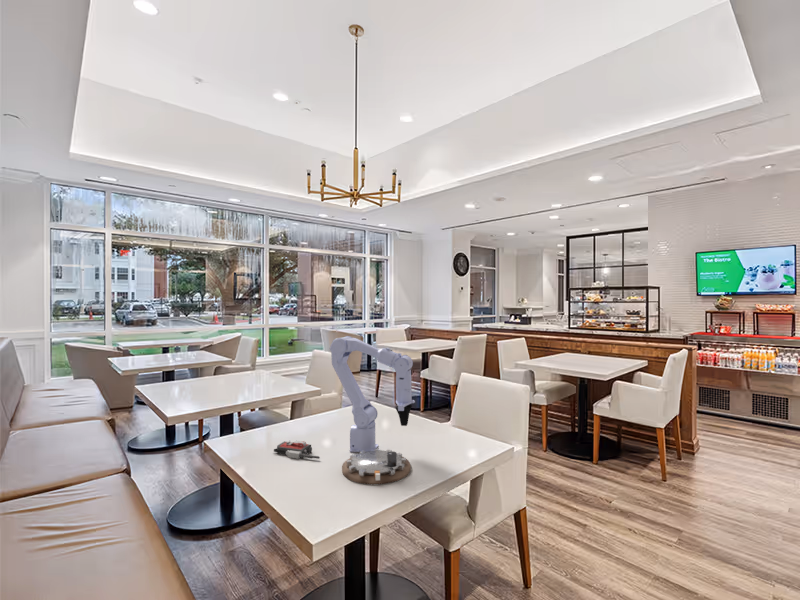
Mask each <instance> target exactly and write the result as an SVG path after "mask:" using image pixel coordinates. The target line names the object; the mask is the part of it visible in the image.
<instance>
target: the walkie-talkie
mask: <svg viewBox="0 0 800 600" xmlns="http://www.w3.org/2000/svg"><path fill="white" fill-rule="evenodd" d="M312 451H313V447H312V444H307V442H306V441H305V440H304V441H302V440H295V441H291V440H289V441H282V442H281V443H279V444H278V445H276V448H274V449H273V452H274V453H276V454H277V453H280V454H279V455H284V454H286V456H287V457H288V458H289V457H290V459H296V460H299V459H301V458H302V459H303V458H305V459H317V460H320V456H319V455H311V453H312ZM310 452H311V453H310ZM307 453H308V454H307ZM300 457H301V458H300Z"/></svg>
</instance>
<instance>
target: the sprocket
mask: <svg viewBox="0 0 800 600" xmlns="http://www.w3.org/2000/svg"><path fill="white" fill-rule="evenodd" d="M402 457H403V454H402V453H401V452H397V451H392V449H386V450H379V448H376V449H374V451H367V452H366V451H364V450H363V451H360V452H359V453H357V454H351V455H349V458H350V460H348V459H346V460H347V466H349V471H350V472H351V473H352V472H355V471H356V472H358V473H359V476H362V477H364V476H365V475H375V473H380V475H385V474H389V475H395V471H397V470H404V464H406V459H407V458H406V457H404V458H402Z"/></svg>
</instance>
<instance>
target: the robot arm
mask: <svg viewBox="0 0 800 600" xmlns="http://www.w3.org/2000/svg"><path fill="white" fill-rule="evenodd" d="M329 351H330V353H331V365H332V368H333V369H334V372H335V373H336V375H337V377H338V379H339V381H340V384H341V385H342V388H343V389H344V391H345V393H346V395H347V397H348V399H349V401H350V403H351V405H352V408H351V413H352V415H353V422H354V424H352V425H351V427H350V431H349V452H351V453H352V452H353V453H360V451H363V450H364V451H366V452H367V451H374V449H378V447H379V444H378V443H376V419H377V418H378V410H377V408H376V407H375V406H374V405H373V404H372V402H371V401H370V400H368V399H367V398H365V396H364V393H363V391H362V389H361V388H360V385H359V384H358V381H357V380H356V377H355V376H354V374H353V372H352V370H351V369H350V366H349V365H348V359H349V357H350V355H351V354H352V352H360V353H363V354H366V355H369V356H371V357H374V358H376V360H377V362H378V363H380V364H382V365H385V366H387V367H390V368H392V369H394V371H395V374H396V376H395V404H396V405H395V410H396V413H397V414H398V417H399V421H400V426H401V427H407V426H408V423H409V419H410V418H409V417H410V413H411V409H412V408H413V404H415V403H416V401H415V400H414V399H412V395H413V394H412V367H413V365H414V363H413V359H412V357H411V356H409V355H407V354H403V355H402V353H401V352H395V351H393V350H391V348H390V347H382V348H380V349H379V348H378V347H376V346H373V345H371V344H370V343H367V342H365V341H363V340H361V339H359V338H358V337H353V336H350V335H345V336H344V337H336V338H334V339H333V340H332V342H331V344H330V347H329Z"/></svg>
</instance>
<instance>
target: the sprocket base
mask: <svg viewBox="0 0 800 600" xmlns="http://www.w3.org/2000/svg"><path fill="white" fill-rule="evenodd" d="M402 458H405V457H404V456H402ZM347 460H350V457H349V458H348V459H346V460H345V461H344V462H343V463H342V465H341V472H342V475H343V476H344V477H345V478H346V479H347V480H349V481H351V482H353V483H356V484H363V485H371V484H372V486H375V485H374V484H378V485H385V484H386V485H387V484H391V483H395V481H396V482H398V481H400V480H402V479H405V478H406V477H407V476H409V474H410V473H411V471H412V470H411V469H412V468H411V462H410V461H409V459H407V458H406V464H404V470H397V471H395V475H389V474H385V475H380V473H375V475H365V476H364V477H362V476H359V473H358V472H356V471H355V472H352V473H351V472H350V471H349V466H347Z"/></svg>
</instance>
